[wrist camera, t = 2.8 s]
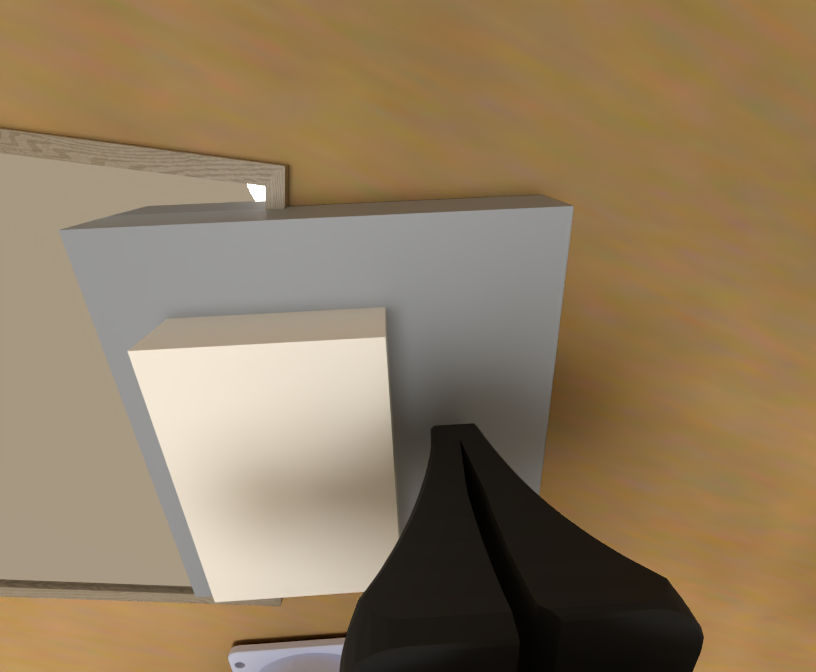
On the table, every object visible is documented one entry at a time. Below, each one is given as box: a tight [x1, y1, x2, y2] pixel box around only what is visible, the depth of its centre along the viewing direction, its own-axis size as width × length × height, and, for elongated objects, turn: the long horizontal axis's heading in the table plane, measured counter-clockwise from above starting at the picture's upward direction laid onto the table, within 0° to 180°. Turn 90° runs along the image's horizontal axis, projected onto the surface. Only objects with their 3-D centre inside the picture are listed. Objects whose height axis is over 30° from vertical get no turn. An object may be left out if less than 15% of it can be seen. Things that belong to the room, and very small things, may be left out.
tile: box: [127, 307, 400, 602], centre depth 13 cm, size 9×6×2 cm, turn 2°
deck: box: [59, 195, 574, 597], centre depth 15 cm, size 14×13×2 cm
